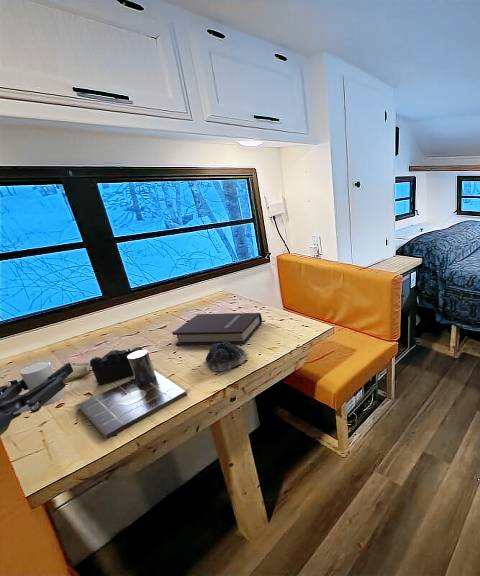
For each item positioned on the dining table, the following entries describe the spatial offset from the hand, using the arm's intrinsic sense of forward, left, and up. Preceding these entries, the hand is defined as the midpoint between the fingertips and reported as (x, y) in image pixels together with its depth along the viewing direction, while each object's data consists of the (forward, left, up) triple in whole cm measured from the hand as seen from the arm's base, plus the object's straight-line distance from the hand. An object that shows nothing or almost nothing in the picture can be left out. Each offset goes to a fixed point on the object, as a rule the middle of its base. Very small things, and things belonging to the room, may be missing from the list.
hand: (57, 368), depth 83 cm
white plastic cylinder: (+4, -4, -6) cm, 8 cm away
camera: (-13, +16, -16) cm, 25 cm away
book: (-10, +50, -16) cm, 53 cm away
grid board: (+8, +11, -15) cm, 21 cm away
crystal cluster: (+13, +38, -16) cm, 43 cm away
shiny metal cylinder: (+2, +17, -14) cm, 22 cm away
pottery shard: (-27, +6, -16) cm, 31 cm away
